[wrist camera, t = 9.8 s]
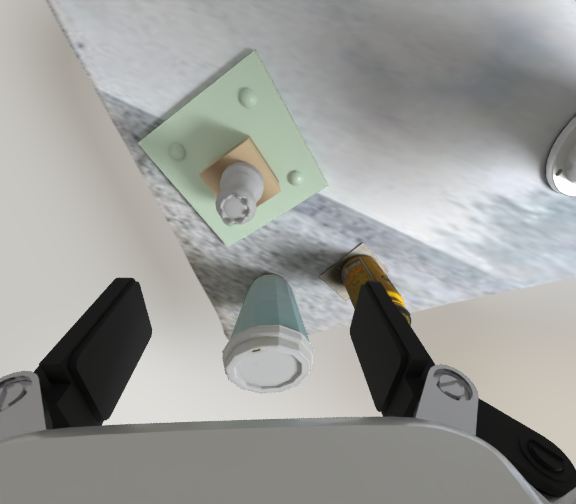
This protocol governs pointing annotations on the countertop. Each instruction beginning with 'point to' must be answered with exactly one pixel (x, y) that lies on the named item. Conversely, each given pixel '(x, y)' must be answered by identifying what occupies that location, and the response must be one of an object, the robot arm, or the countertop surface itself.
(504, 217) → the countertop surface
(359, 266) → the condiment
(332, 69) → the countertop surface
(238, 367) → the disposable coffee cup
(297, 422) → the robot arm
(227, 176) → the rook chess piece
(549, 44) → the countertop surface
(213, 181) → the oak brick
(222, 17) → the countertop surface
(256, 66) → the build plate
